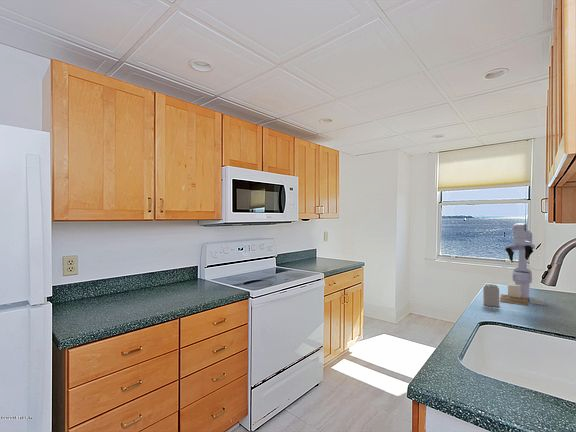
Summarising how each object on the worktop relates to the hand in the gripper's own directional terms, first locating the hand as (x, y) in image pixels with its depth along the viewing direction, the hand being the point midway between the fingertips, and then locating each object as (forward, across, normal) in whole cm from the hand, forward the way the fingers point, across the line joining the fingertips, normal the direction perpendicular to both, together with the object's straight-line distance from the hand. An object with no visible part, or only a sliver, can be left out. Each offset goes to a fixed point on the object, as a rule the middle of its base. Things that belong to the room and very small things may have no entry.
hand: (518, 259), depth 175 cm
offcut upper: (+16, -9, +17) cm, 25 cm away
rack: (+16, -10, +20) cm, 28 cm away
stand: (+14, 0, +26) cm, 30 cm away
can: (+28, -14, +3) cm, 31 cm away
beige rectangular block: (+14, -10, +22) cm, 28 cm away
